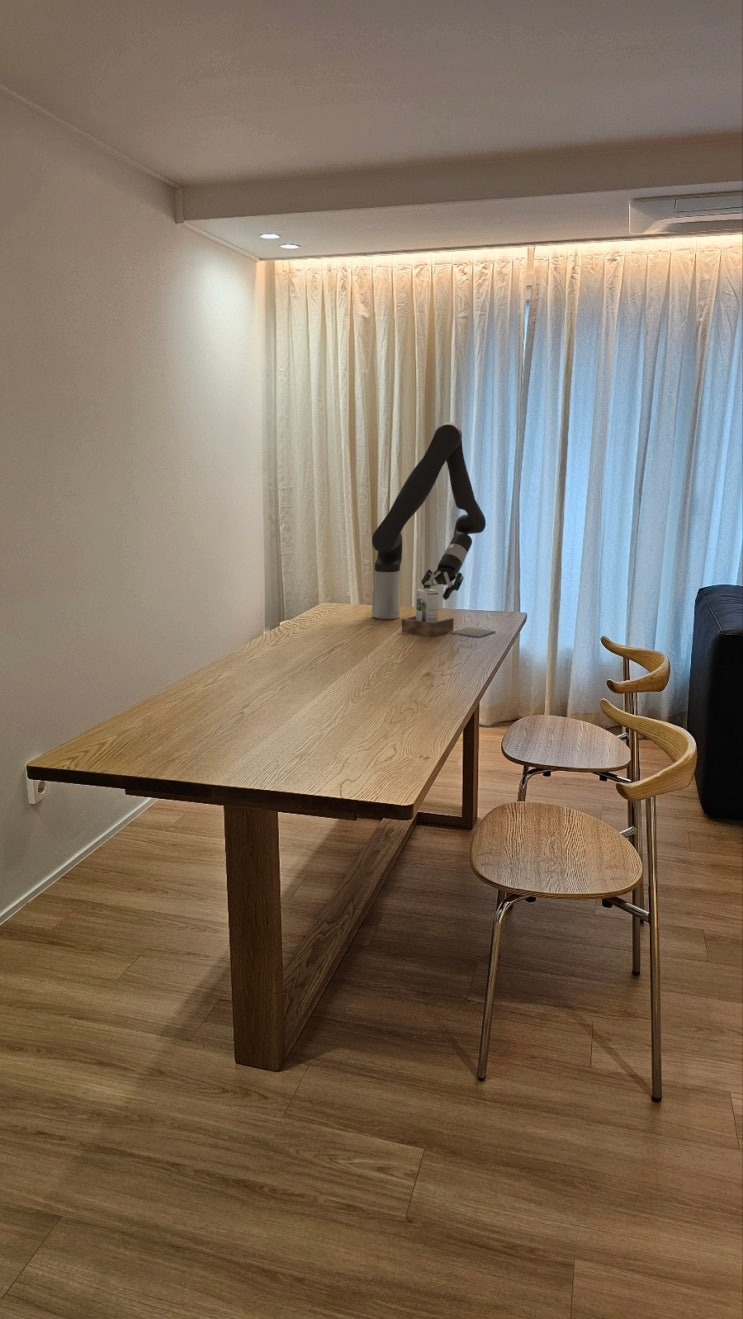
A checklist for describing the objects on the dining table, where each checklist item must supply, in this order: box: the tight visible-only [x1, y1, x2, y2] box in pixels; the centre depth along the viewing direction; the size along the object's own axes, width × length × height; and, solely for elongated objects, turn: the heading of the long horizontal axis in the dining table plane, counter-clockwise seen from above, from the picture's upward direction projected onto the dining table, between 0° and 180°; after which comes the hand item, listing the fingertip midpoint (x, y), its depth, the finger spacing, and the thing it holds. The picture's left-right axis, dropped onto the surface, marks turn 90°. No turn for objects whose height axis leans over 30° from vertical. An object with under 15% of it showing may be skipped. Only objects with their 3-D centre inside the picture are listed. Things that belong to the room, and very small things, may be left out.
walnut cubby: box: [401, 615, 454, 638], centre depth 314 cm, size 13×12×4 cm
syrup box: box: [415, 588, 439, 623], centre depth 312 cm, size 6×6×14 cm
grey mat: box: [450, 626, 497, 639], centre depth 312 cm, size 11×11×1 cm
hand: (433, 597), depth 314 cm, fingers open, 8 cm apart
